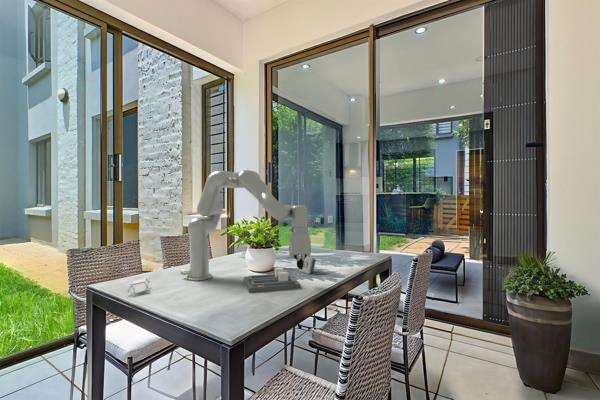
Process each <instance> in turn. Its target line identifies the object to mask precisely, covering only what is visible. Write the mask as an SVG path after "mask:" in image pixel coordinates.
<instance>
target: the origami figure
mask: <svg viewBox="0 0 600 400" xmlns="http://www.w3.org/2000/svg"><path fill="white" fill-rule="evenodd" d="M146 282H147V283H146ZM150 283H151V282H150V280H149V279H148V278H147V277H145V278H140V279H136V280H134V281H133V282H132V283H131V284H130V286H129V288H128V289H127V291H126V292H127V293H130V294H131V295H132V294H133V291H134V292H135V291H136V289H135V287H134V286H135V285H140V284H145V289H144V292H145V293H148V291H147V290H148V289H149V288H150V287H149V284H150ZM130 289H132V290H133V291H130Z"/></svg>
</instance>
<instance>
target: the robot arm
mask: <svg viewBox="0 0 600 400" xmlns="http://www.w3.org/2000/svg"><path fill="white" fill-rule="evenodd" d="M221 188H222V189H223V188H227V189H242V188H243V189H245V190H246V191H247V192H248V193H249V194H250V195H252V196H253V197H254V198H255V199H256V200H257V201H258V203H259V204H260V206H261V207H262V208H263V209H264V210H265V211H266V212H267V213H268V214H269V215H270V216H271V217H272V218H273V219H275V220H276V221H278V222H284V221H287V220H291V227H290V228H288V232H291V233H290V235H289V241H288V242H289V245H288V249H289V252H288V253H289V254H288V256H289V257H290V258H294V259H295V260H296V267H297V269H303V266H304V261H303V260H304V259H305V258H306V257H307V256H308V257H311V256H312V254H311V253H312V243H311V237H310V233H309V232H308V207H307V206H306V205H304V204H303V205H301V204H300V205H299V204H298V205H297V204H296V205H290V204H282V203H281V202H279V201H278V199H276V197H275V196H273V194H272V192H271V188H270V186H269V185H267V184H266V183H265V182H264V181H263V180H262V179H261V176H260V174H259V173H258V172H257V171H254V170H249V169H245V170H242V171H240V172H233V171H228V170H217V171H213V172H211V173H210V174H209V175H208V177H207V178H206V181H205V184H204V187H203V190H202V193H201V195H200V199H199V201H198V204H197V206H196V207H197V208H196V212H197V213H198V215H199V216H200V217H195V218H192V219H191V220H190V221H189V223H188V225H187V233H188V238H189V269H187V270H180V275H182V276H186V279H187V280H188V281H206V280H209V279H211V278H212V277H213V275H212V273H210V247H209V246H210V244H209V243H210V241H209V238H208V235H209V234H213V232H215V230H216V229H217V227H218V225H219V221H220V219H221V216H222V213H223V210H224V209H223V208H224V206H223V203H222V201H221V200H220V195H221Z"/></svg>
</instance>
